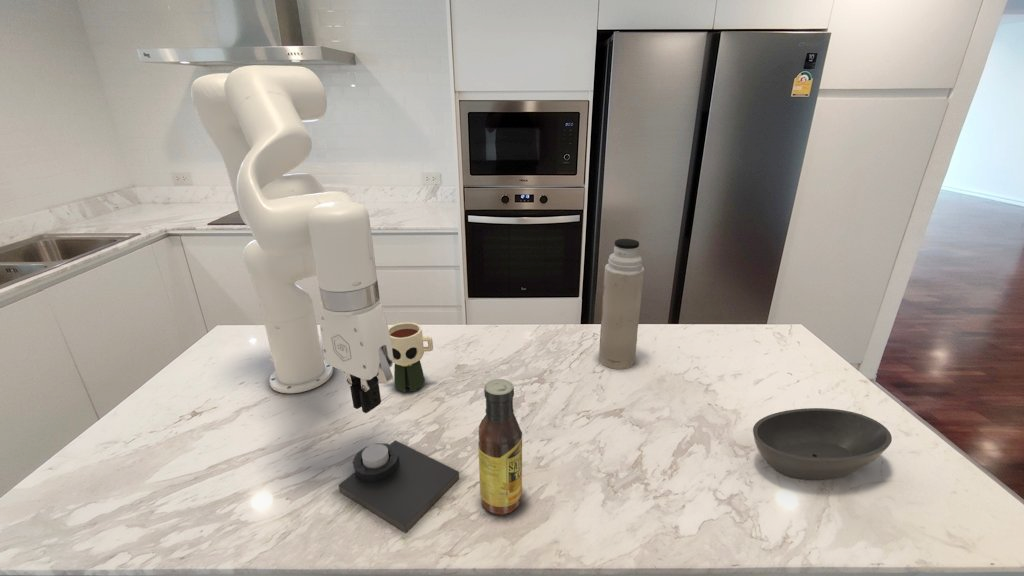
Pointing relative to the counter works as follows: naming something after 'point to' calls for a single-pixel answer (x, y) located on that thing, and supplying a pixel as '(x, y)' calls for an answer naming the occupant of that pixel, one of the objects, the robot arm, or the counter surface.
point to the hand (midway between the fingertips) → (367, 405)
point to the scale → (399, 485)
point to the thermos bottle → (621, 305)
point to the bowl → (819, 442)
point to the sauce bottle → (500, 450)
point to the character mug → (408, 354)
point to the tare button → (375, 456)
